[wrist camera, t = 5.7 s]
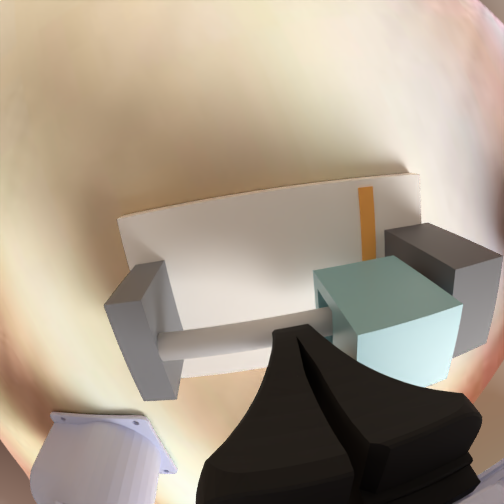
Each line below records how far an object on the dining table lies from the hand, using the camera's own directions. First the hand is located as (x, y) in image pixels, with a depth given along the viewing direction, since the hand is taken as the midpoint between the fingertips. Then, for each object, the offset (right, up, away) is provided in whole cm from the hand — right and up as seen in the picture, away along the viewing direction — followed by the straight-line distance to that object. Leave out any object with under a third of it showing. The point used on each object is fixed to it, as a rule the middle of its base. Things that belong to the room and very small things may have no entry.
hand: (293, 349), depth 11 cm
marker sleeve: (+3, +1, +3) cm, 5 cm away
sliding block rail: (0, +2, +6) cm, 6 cm away
